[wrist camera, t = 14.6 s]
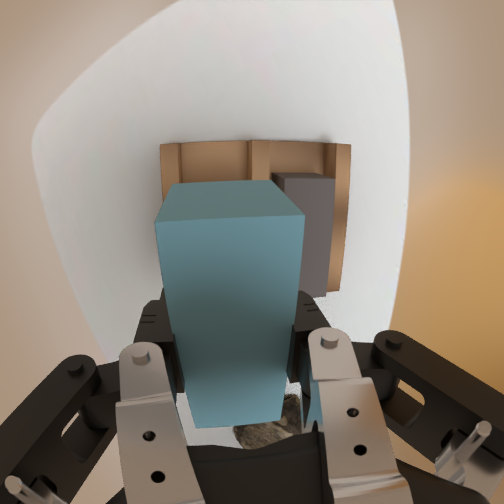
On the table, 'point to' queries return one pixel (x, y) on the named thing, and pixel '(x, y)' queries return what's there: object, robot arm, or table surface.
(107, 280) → the table surface
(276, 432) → the brown rock
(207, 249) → the tall teal pillar
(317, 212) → the dark gray block
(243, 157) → the block
